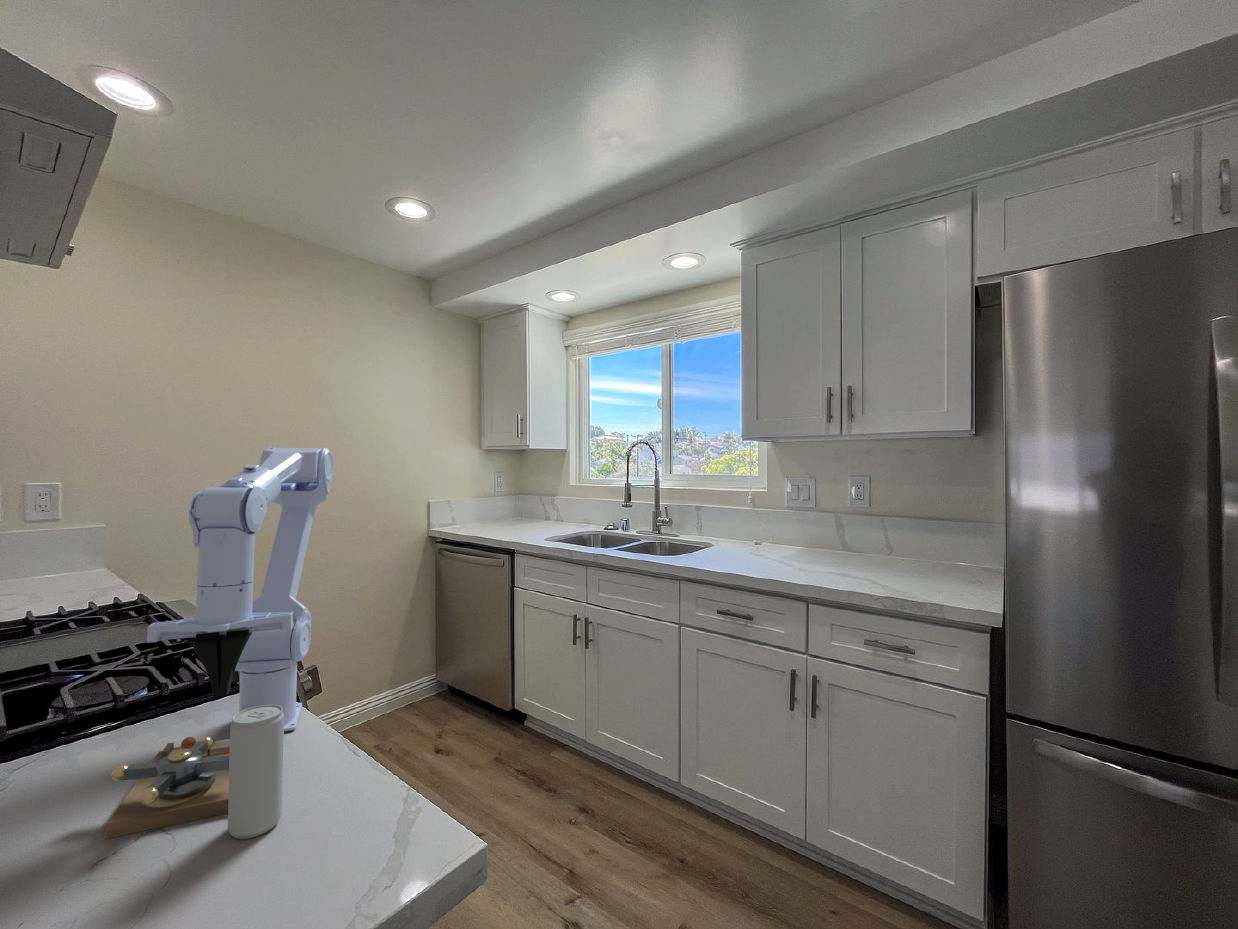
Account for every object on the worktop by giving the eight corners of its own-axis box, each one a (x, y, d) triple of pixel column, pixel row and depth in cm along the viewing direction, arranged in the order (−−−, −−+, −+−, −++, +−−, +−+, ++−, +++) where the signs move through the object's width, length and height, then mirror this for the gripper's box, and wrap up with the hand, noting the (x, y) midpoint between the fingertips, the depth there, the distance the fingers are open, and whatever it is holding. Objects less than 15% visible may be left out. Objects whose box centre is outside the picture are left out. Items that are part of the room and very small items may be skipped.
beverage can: (254, 845, 55) (257, 725, 55) (215, 838, 56) (218, 721, 56) (292, 816, 59) (294, 706, 60) (255, 810, 60) (258, 702, 61)
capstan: (67, 831, 53) (69, 792, 54) (147, 764, 66) (148, 732, 66) (215, 814, 56) (216, 777, 56) (265, 753, 69) (266, 723, 69)
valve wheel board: (158, 763, 70) (159, 734, 70) (268, 744, 75) (268, 717, 75) (105, 838, 55) (106, 802, 55) (245, 809, 60) (246, 775, 61)
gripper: (139, 593, 61) (133, 716, 60) (289, 584, 67) (285, 695, 66) (160, 583, 67) (155, 694, 66) (296, 575, 73) (292, 677, 73)
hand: (221, 693), depth 67 cm, fingers closed
